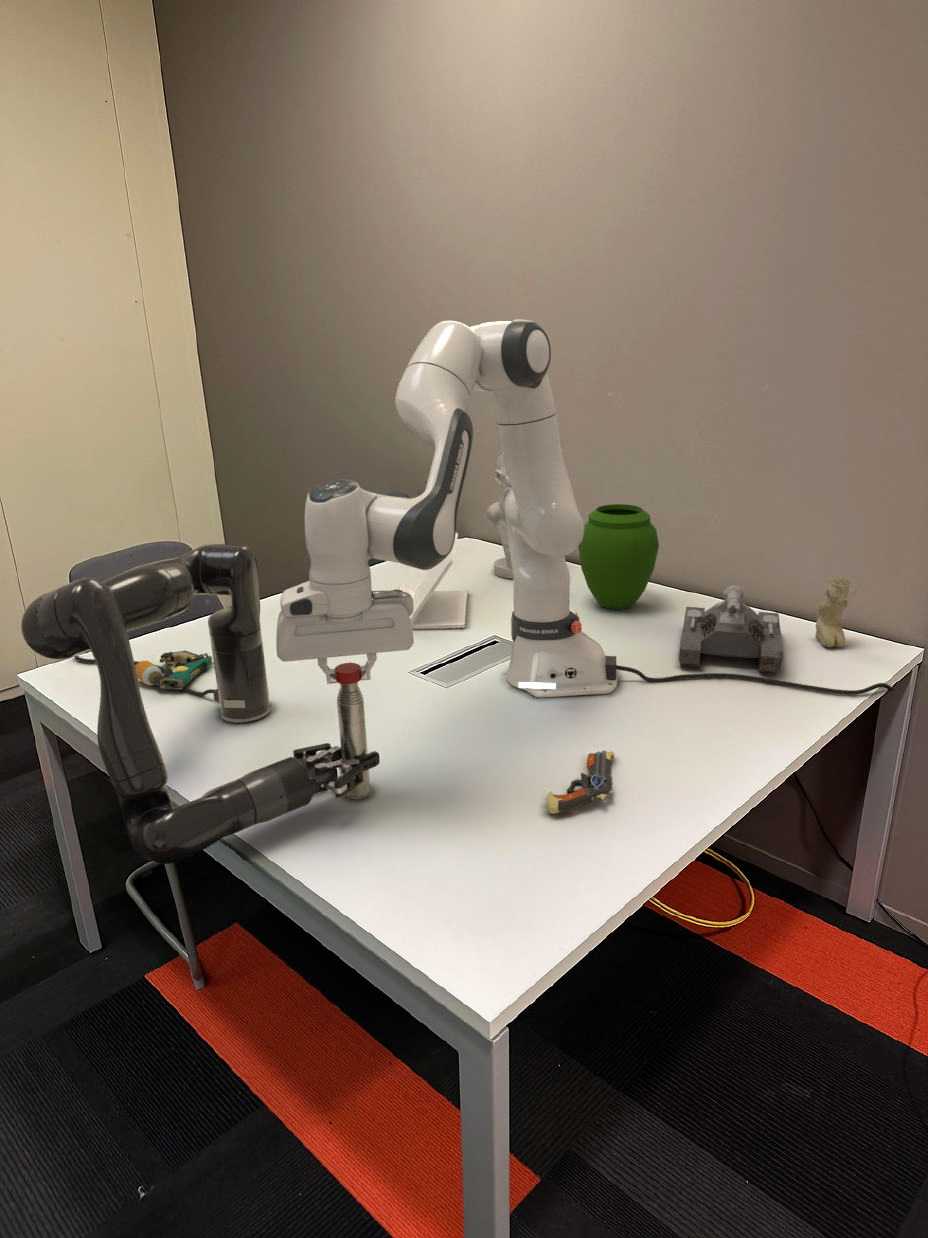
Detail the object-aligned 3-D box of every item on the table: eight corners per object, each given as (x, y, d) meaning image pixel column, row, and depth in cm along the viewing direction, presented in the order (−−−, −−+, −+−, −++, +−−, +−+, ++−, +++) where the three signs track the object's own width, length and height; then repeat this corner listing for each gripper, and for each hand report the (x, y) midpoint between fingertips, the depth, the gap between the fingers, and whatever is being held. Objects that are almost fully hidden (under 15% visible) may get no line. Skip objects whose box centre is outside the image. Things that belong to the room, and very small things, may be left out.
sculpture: (821, 649, 184) (830, 583, 179) (808, 637, 191) (816, 573, 185) (848, 649, 184) (858, 582, 179) (834, 636, 191) (843, 572, 185)
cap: (358, 685, 127) (357, 673, 126) (332, 684, 127) (331, 673, 127) (364, 674, 131) (363, 662, 130) (338, 673, 131) (337, 662, 130)
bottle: (368, 784, 138) (359, 665, 131) (371, 797, 135) (363, 675, 127) (343, 788, 137) (333, 668, 130) (346, 801, 134) (335, 678, 126)
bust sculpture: (503, 593, 225) (502, 460, 212) (483, 567, 247) (480, 445, 234) (562, 587, 228) (563, 456, 215) (536, 562, 250) (536, 441, 237)
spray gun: (177, 659, 191) (231, 671, 185) (120, 684, 176) (176, 698, 171) (176, 641, 190) (230, 653, 184) (118, 665, 175) (174, 678, 169)
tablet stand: (467, 593, 225) (465, 531, 219) (465, 628, 202) (462, 559, 196) (399, 594, 226) (395, 532, 220) (388, 629, 203) (384, 560, 197)
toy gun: (544, 802, 127) (611, 800, 125) (554, 748, 145) (614, 745, 143) (546, 819, 128) (613, 817, 126) (556, 762, 146) (615, 760, 144)
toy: (684, 626, 199) (689, 565, 194) (775, 633, 193) (782, 570, 188) (677, 670, 176) (682, 601, 171) (780, 679, 171) (788, 608, 165)
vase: (599, 587, 227) (601, 497, 218) (668, 600, 216) (673, 505, 208) (562, 608, 212) (564, 513, 204) (634, 623, 202) (639, 523, 193)
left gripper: (294, 788, 119) (394, 747, 129) (247, 750, 129) (343, 715, 139) (299, 834, 122) (397, 790, 132) (253, 793, 132) (347, 755, 142)
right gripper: (409, 581, 129) (414, 665, 134) (271, 592, 125) (281, 678, 130) (415, 594, 123) (419, 682, 128) (270, 607, 120) (280, 696, 124)
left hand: (369, 751), depth 135 cm, fingers closed on bottle, 4 cm apart
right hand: (348, 680), depth 129 cm, fingers closed on cap, 4 cm apart
